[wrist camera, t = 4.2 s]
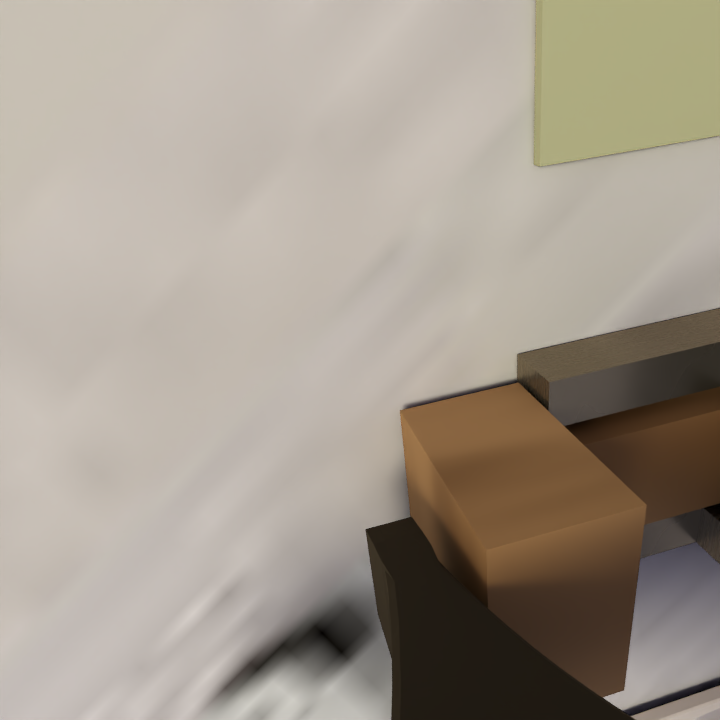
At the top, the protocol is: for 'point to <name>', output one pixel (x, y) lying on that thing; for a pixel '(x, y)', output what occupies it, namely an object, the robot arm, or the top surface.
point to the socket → (634, 394)
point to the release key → (557, 510)
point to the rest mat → (624, 76)
